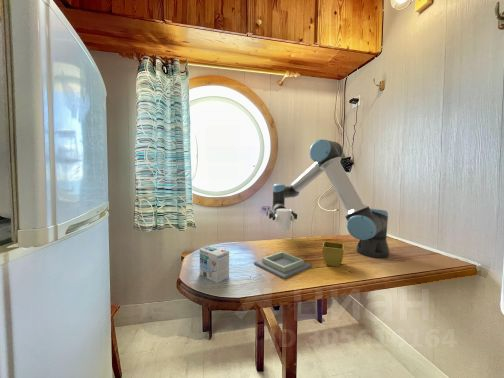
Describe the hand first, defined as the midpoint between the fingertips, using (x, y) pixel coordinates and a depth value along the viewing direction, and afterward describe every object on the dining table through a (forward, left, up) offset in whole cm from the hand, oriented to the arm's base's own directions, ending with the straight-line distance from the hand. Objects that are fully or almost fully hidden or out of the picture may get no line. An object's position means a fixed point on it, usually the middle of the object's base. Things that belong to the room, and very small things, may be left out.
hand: (284, 219), depth 112 cm
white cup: (+4, -3, -6) cm, 8 cm away
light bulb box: (+1, +39, -18) cm, 43 cm away
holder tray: (-9, +10, -18) cm, 22 cm away
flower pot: (-22, -9, -18) cm, 30 cm away
